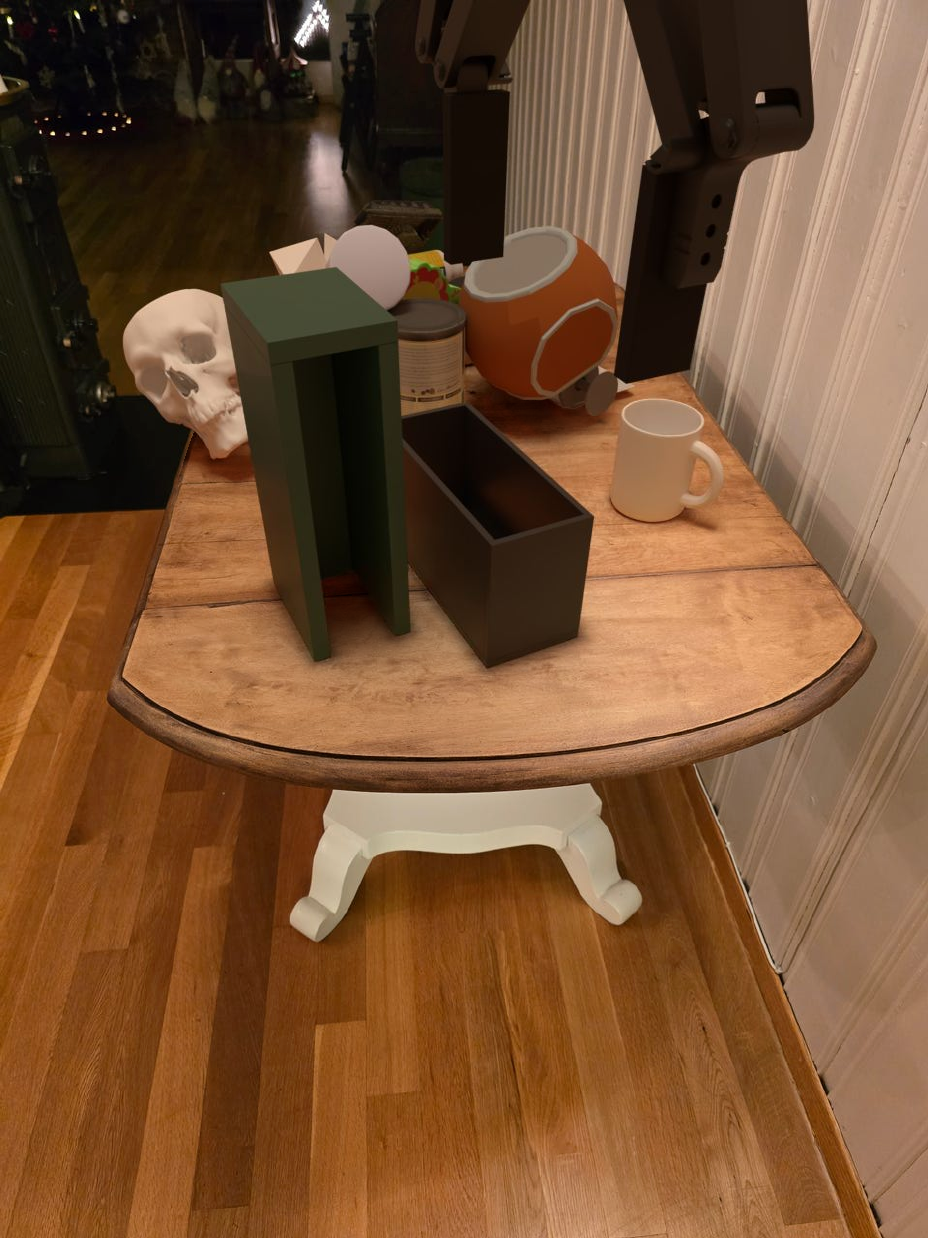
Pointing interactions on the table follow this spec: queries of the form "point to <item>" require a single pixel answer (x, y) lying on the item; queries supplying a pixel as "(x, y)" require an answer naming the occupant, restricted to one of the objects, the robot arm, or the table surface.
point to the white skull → (188, 366)
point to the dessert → (621, 385)
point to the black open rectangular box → (492, 534)
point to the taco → (431, 286)
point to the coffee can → (430, 353)
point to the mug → (661, 461)
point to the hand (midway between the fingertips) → (550, 308)
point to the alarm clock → (539, 313)
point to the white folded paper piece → (303, 256)
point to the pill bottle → (439, 263)
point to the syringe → (591, 392)
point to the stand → (323, 439)
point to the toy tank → (402, 220)
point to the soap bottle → (373, 263)
